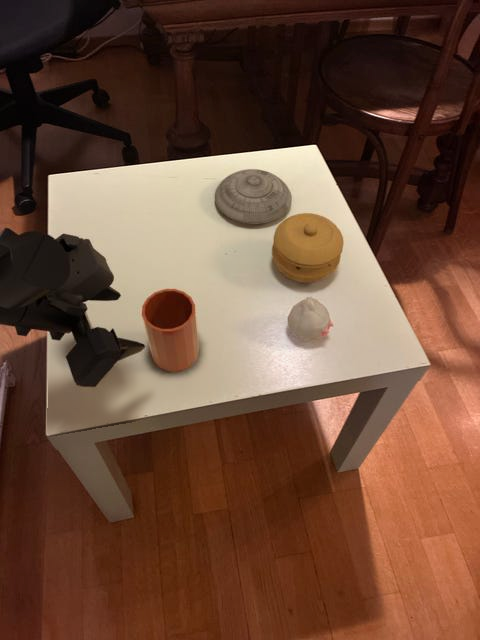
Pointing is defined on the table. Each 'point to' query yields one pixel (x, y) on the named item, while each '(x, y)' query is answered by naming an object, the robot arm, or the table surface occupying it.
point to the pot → (307, 247)
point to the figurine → (309, 320)
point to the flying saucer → (253, 196)
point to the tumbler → (171, 329)
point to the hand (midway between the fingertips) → (130, 321)
